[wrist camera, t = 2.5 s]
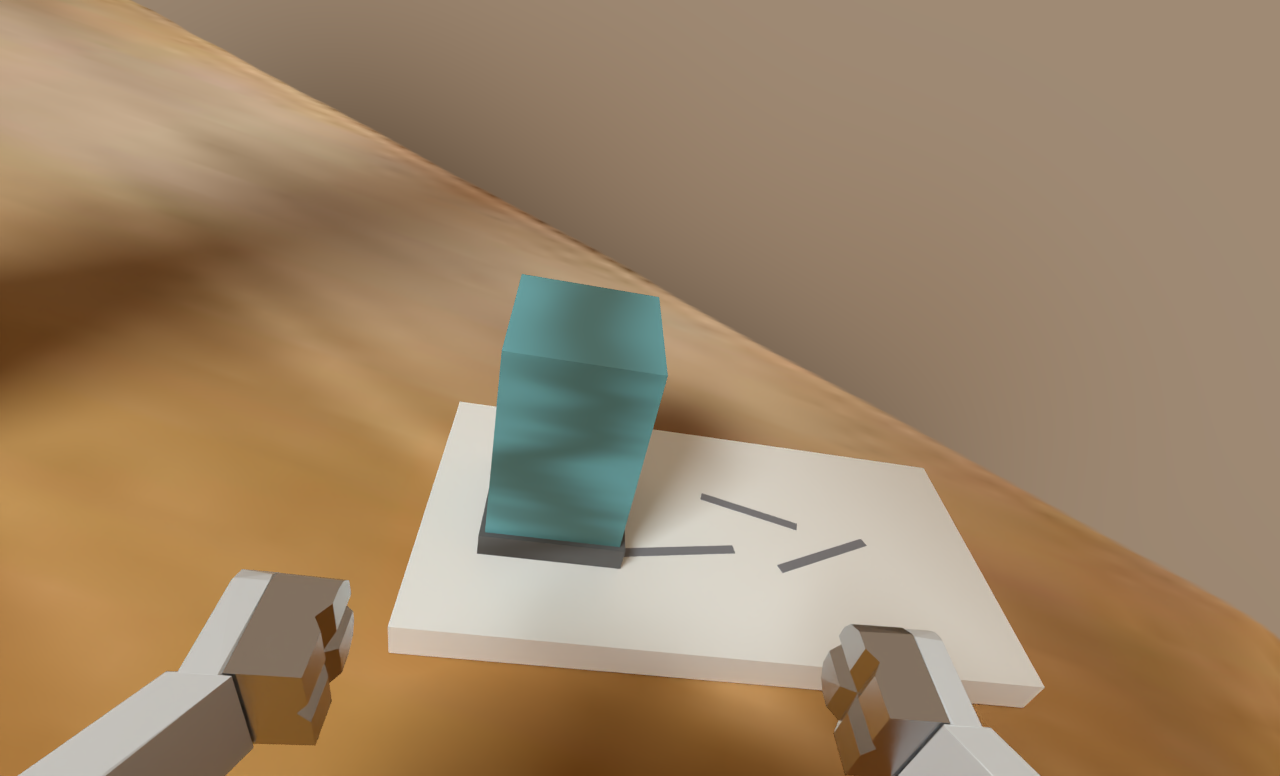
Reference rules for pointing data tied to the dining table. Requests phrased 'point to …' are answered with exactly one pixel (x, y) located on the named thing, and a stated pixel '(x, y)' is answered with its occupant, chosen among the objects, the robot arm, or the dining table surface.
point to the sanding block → (572, 421)
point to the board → (711, 572)
